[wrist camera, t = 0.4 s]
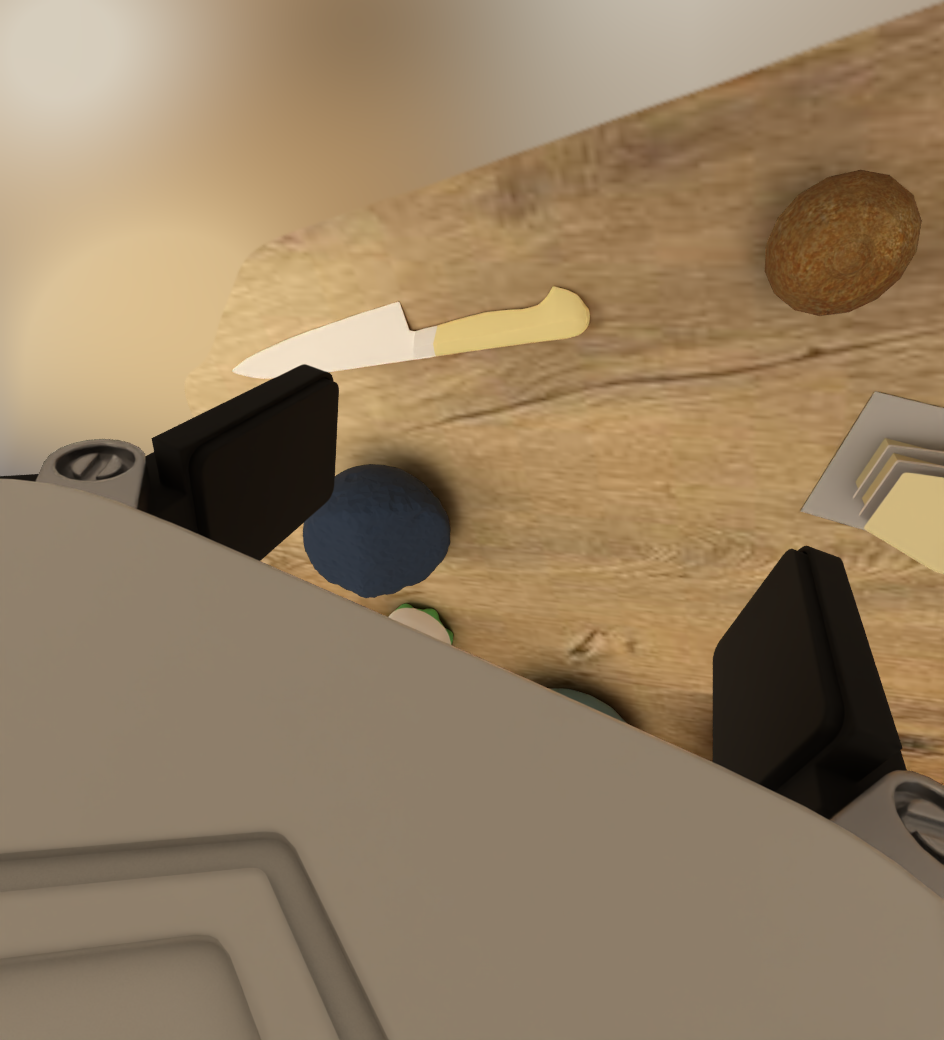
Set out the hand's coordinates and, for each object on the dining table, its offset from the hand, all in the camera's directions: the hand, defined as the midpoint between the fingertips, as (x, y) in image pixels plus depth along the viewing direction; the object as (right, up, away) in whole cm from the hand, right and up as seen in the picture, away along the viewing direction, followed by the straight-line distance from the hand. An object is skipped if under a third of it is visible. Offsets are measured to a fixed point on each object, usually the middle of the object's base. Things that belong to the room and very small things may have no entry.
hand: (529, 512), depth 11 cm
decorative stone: (-7, +2, +40) cm, 40 cm away
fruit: (+18, +15, +18) cm, 30 cm away
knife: (-8, +14, +31) cm, 36 cm away
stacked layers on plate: (+27, +3, +23) cm, 36 cm away
